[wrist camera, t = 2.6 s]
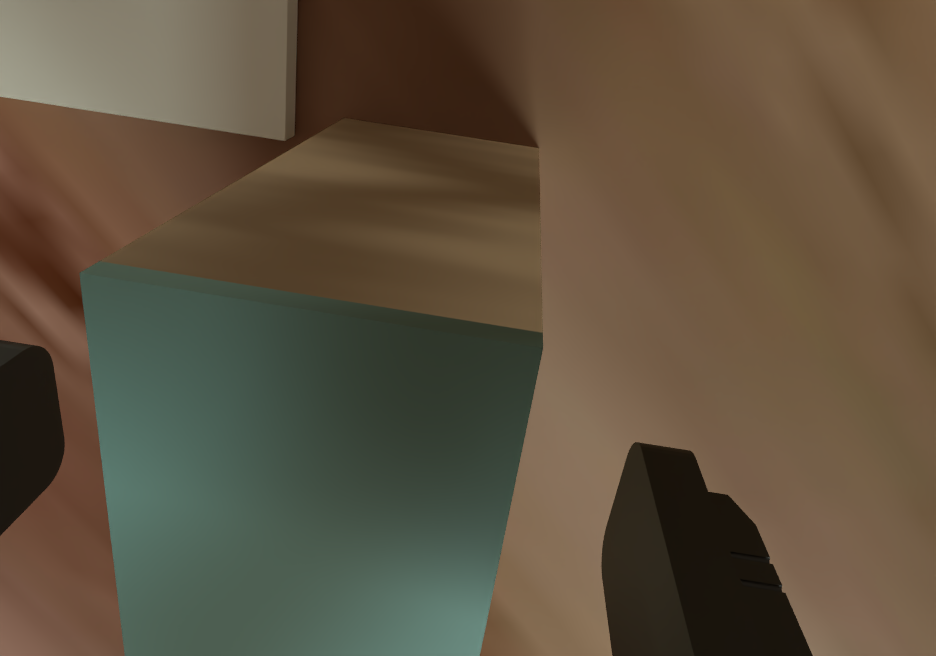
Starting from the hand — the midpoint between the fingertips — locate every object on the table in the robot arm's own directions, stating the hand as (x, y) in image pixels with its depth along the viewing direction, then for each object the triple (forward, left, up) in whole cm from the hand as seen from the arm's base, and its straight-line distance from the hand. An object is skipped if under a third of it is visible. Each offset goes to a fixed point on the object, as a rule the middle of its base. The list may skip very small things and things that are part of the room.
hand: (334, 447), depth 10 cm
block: (0, 0, -7) cm, 7 cm away
